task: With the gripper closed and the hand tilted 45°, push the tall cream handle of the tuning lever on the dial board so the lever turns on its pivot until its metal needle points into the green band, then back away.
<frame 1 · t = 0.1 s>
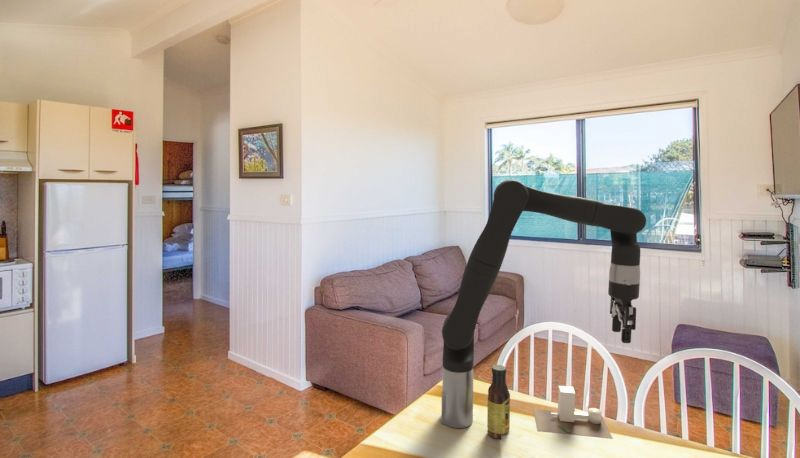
hand: (620, 336, 120), 29 cm above the table, tool pointing down, fingers open, 8 cm apart
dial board: (570, 427, 128), on the table
sauce bottle: (498, 434, 125), on the table
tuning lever: (576, 404, 129), point 6 cm above the table, hinge at 0.0°
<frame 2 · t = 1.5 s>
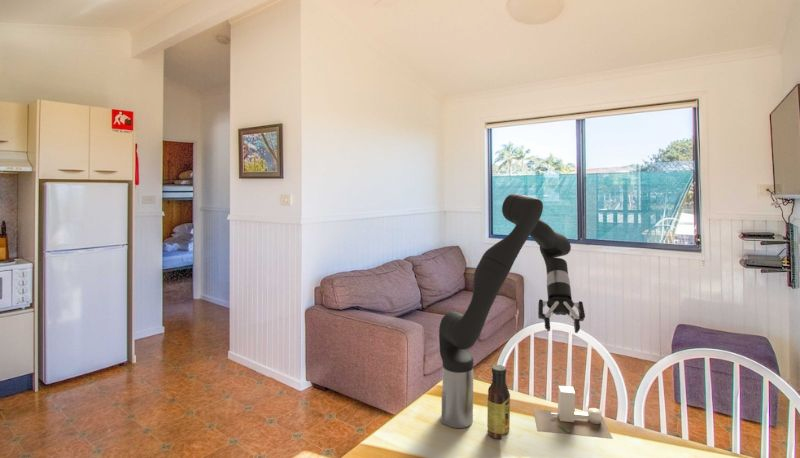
hand: (562, 331, 138), 25 cm above the table, tool tilted 45°, fingers open, 8 cm apart
nothing on the table moved.
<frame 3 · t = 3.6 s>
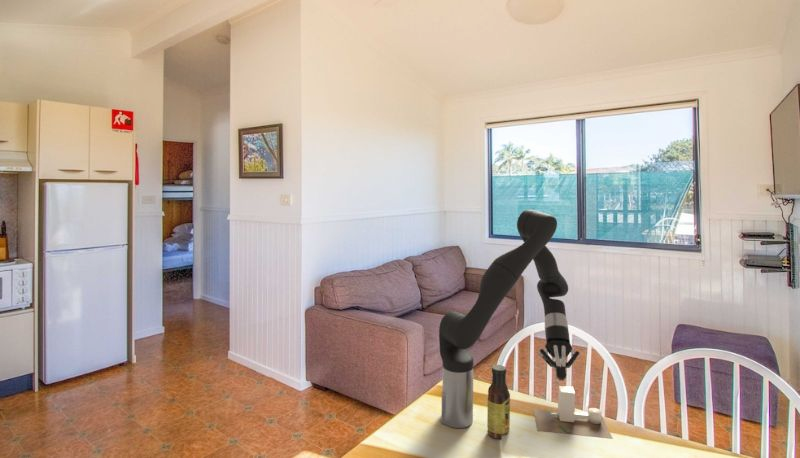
hand: (561, 379, 138), 10 cm above the table, tool tilted 45°, fingers closed
nothing on the table moved.
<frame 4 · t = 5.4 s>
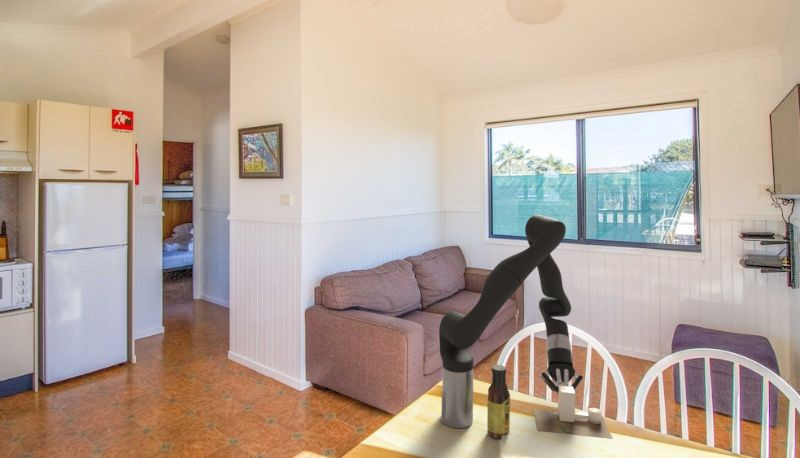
hand: (564, 405, 132), 4 cm above the table, tool tilted 45°, fingers closed
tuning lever: (576, 404, 129), point 6 cm above the table, hinge at 0.0°, touching gripper
everything else where it was.
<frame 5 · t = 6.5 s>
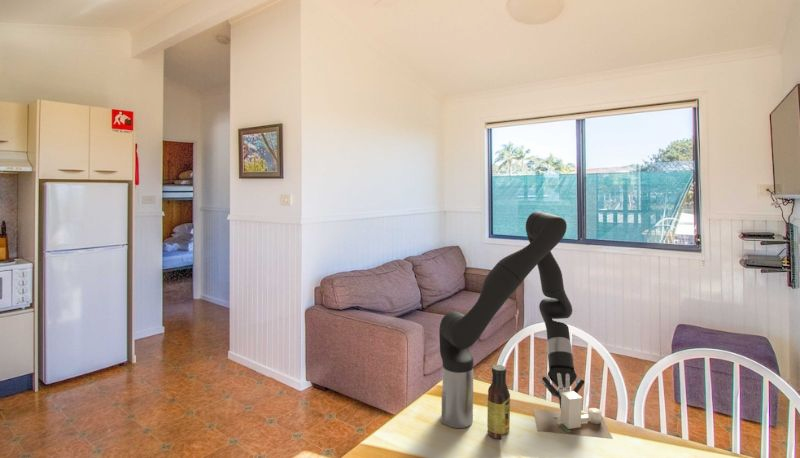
hand: (565, 411, 129), 4 cm above the table, tool tilted 45°, fingers closed
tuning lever: (579, 408, 127), point 6 cm above the table, hinge at 24.5°, touching gripper
everything else where it was.
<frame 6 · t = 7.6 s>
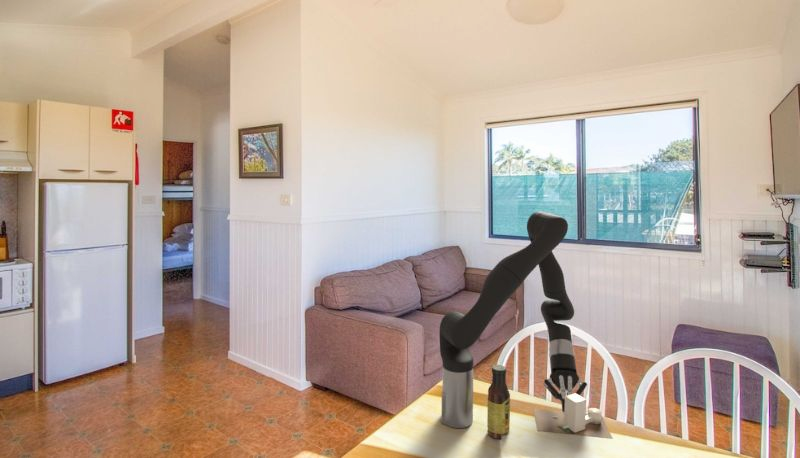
hand: (568, 413, 127), 4 cm above the table, tool tilted 45°, fingers closed
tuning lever: (582, 410, 126), point 6 cm above the table, hinge at 36.1°, touching gripper
everything else where it was.
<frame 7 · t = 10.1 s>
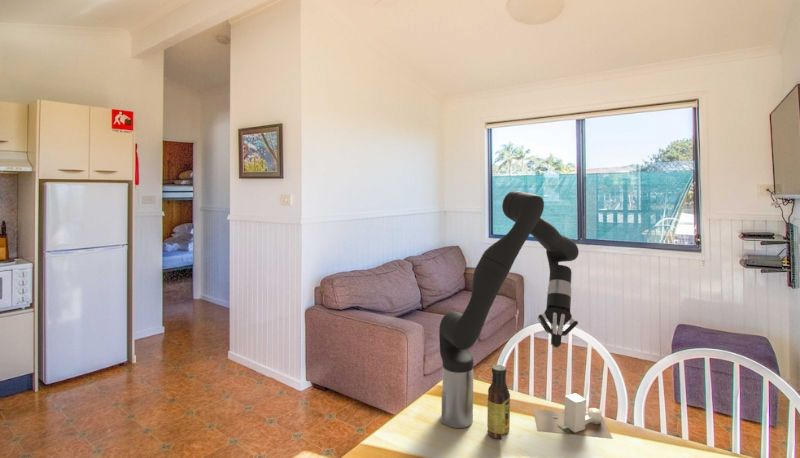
hand: (555, 346, 139), 19 cm above the table, tool tilted 35°, fingers closed
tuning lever: (582, 410, 126), point 6 cm above the table, hinge at 36.2°
everything else where it was.
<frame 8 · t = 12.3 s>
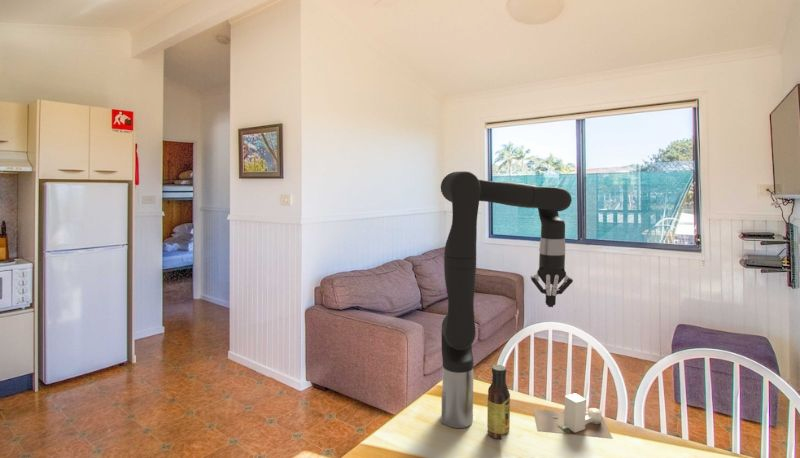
hand: (550, 306, 137), 33 cm above the table, tool pointing down, fingers closed
nothing on the table moved.
at the end: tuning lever at +36° (first picture: +0°); sauce bottle tilted 0° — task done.
